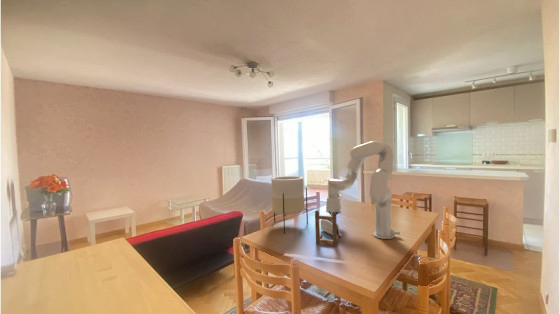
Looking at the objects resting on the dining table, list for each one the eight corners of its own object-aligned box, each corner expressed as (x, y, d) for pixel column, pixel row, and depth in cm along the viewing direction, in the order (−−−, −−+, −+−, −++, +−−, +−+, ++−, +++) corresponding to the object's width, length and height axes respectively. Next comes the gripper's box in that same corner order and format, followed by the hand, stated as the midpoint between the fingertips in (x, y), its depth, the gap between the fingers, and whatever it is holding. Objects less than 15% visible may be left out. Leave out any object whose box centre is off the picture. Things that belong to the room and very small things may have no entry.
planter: (293, 235, 152) (292, 180, 151) (261, 229, 166) (259, 179, 165) (310, 224, 174) (308, 176, 174) (280, 219, 188) (278, 175, 188)
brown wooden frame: (339, 239, 141) (338, 207, 141) (337, 246, 131) (336, 212, 131) (319, 237, 146) (318, 206, 145) (315, 244, 135) (314, 210, 135)
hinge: (342, 237, 146) (340, 221, 145) (336, 239, 144) (334, 223, 143) (326, 229, 161) (324, 215, 160) (321, 231, 159) (319, 217, 158)
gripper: (344, 195, 168) (344, 220, 169) (324, 194, 174) (324, 218, 174) (343, 197, 161) (343, 223, 162) (322, 196, 167) (322, 221, 167)
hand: (333, 220), depth 168 cm, fingers closed
